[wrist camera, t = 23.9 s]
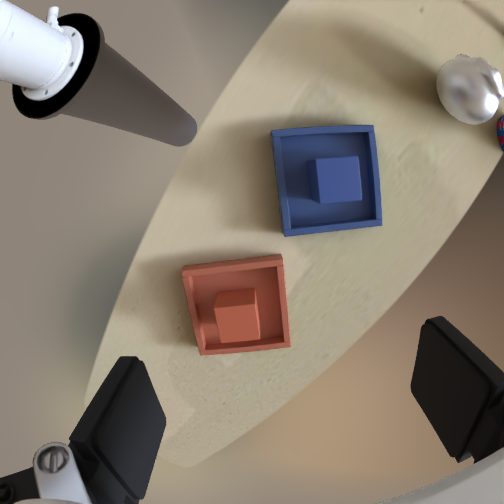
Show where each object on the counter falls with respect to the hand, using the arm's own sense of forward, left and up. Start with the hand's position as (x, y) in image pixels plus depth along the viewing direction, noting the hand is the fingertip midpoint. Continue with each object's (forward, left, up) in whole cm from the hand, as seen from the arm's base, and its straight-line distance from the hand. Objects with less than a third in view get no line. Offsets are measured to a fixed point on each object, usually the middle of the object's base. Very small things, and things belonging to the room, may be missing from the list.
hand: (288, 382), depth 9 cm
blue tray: (-5, +8, -26) cm, 28 cm away
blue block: (-5, +8, -26) cm, 27 cm away
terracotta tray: (+9, -4, -26) cm, 28 cm away
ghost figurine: (-16, +28, -26) cm, 42 cm away
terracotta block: (+9, -4, -26) cm, 28 cm away
